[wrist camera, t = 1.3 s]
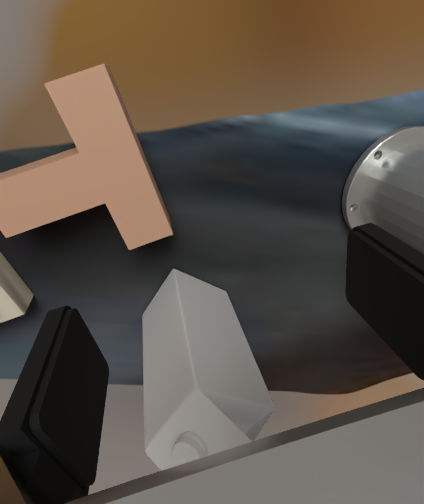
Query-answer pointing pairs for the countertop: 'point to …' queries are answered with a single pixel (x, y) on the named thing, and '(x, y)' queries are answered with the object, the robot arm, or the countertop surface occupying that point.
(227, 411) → the milk carton
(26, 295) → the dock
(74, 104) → the t block
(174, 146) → the countertop surface
